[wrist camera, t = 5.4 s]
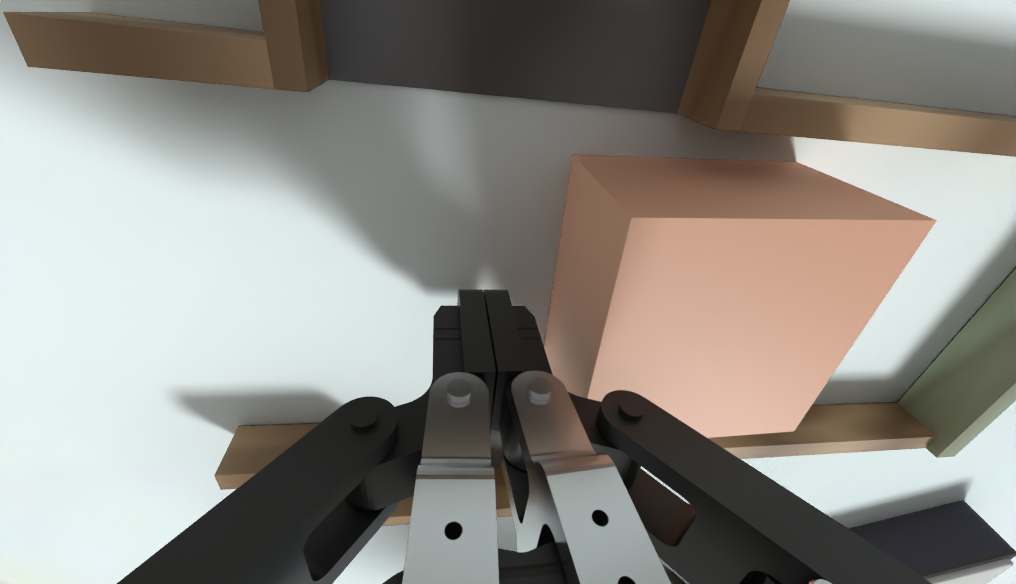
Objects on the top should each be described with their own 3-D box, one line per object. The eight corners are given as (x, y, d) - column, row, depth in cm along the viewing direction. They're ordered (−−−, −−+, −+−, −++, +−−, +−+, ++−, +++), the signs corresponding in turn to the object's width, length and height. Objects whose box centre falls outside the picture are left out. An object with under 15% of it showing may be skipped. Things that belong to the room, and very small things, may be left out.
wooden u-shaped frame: (1260, 20, 12) (1429, 22, 10) (868, 451, 23) (911, 495, 21) (5, -214, 7) (-182, -311, 5) (260, 487, 18) (237, 550, 16)
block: (792, 160, 13) (936, 220, 9) (714, 337, 17) (794, 431, 13) (571, 152, 12) (631, 217, 8) (542, 344, 16) (575, 447, 12)
